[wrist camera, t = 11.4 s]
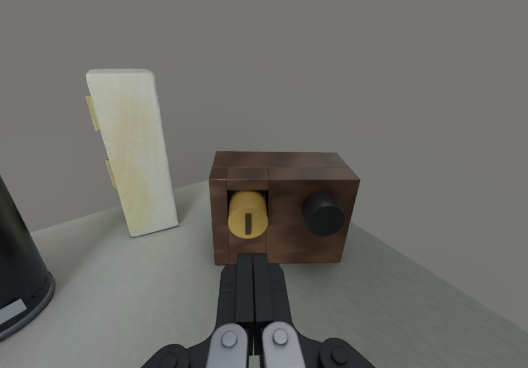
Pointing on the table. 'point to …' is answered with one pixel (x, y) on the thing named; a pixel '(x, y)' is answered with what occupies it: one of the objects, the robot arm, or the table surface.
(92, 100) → the toy refrigerator
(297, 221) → the control box
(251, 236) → the brass knob
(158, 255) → the table surface
